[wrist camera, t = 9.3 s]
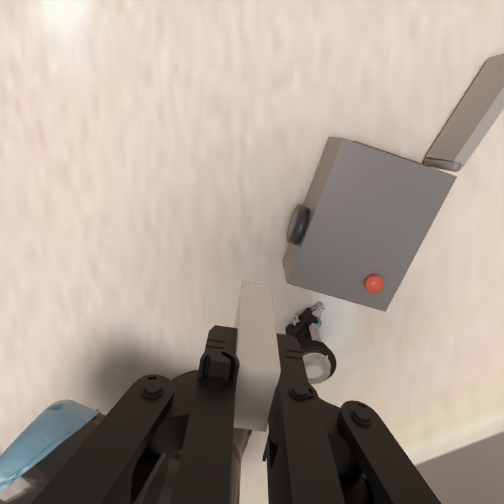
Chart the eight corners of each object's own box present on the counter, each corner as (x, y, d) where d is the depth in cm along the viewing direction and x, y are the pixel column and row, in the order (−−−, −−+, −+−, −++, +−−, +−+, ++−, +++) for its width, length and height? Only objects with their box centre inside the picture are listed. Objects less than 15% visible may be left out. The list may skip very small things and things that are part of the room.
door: (421, 163, 37) (448, 168, 31) (488, 58, 33) (532, 44, 28) (433, 169, 37) (462, 175, 32) (501, 66, 33) (547, 54, 28)
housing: (367, 285, 43) (388, 315, 36) (273, 258, 42) (277, 283, 35) (425, 167, 37) (462, 176, 30) (319, 132, 36) (334, 132, 29)
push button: (306, 291, 43) (320, 335, 34) (335, 312, 44) (356, 360, 35) (275, 324, 45) (280, 374, 36) (304, 343, 46) (316, 397, 37)
